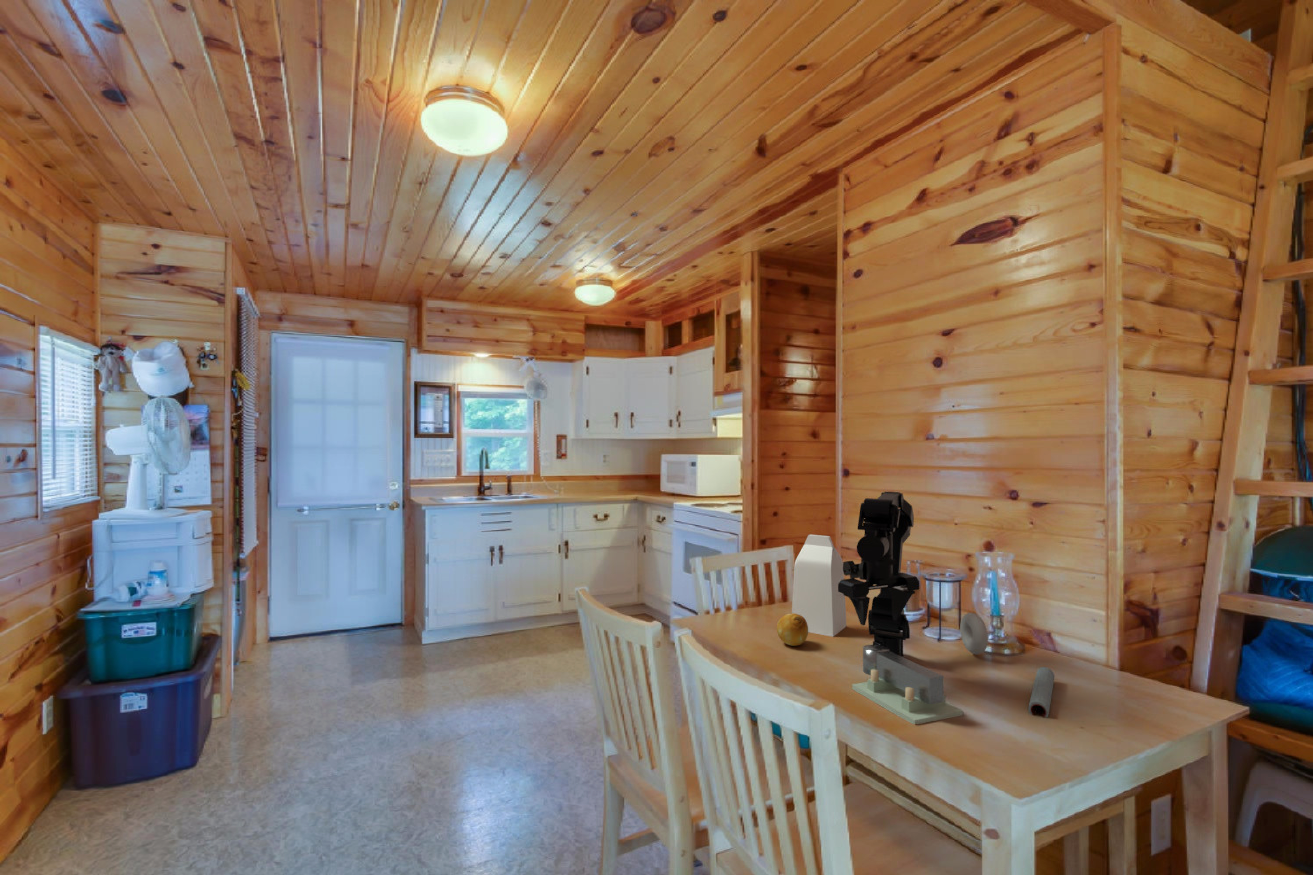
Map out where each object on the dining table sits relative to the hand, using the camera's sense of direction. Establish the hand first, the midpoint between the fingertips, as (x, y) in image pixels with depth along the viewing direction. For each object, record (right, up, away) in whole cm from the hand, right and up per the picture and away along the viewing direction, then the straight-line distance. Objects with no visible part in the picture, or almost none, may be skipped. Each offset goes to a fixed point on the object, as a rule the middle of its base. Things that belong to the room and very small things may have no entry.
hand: (879, 622), depth 141 cm
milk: (-5, -12, +35) cm, 37 cm away
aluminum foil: (+31, -13, -13) cm, 36 cm away
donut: (+29, -12, +14) cm, 34 cm away
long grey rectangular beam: (0, -9, -13) cm, 16 cm away
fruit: (-15, -12, +20) cm, 28 cm away
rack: (0, -12, -14) cm, 19 cm away
